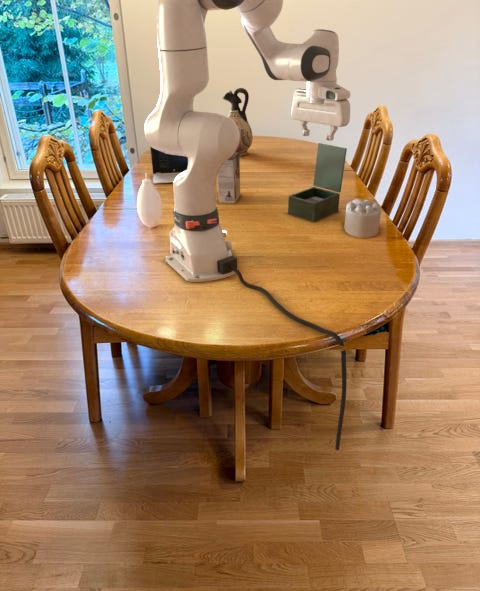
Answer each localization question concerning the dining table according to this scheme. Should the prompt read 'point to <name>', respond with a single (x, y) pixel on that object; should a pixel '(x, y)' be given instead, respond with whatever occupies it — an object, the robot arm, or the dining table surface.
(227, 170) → the coffee box
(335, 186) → the case lid
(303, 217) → the case
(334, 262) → the dining table surface
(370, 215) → the lumpy-topped squat cylinder
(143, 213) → the sauce bottle
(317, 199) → the dark grey block
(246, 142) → the ceramic jug
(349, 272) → the dining table surface
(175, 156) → the laptop
